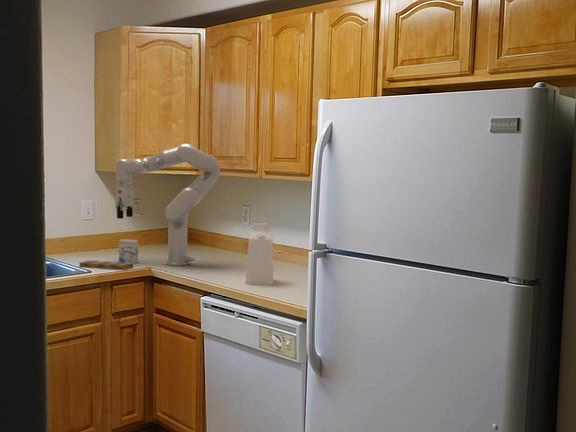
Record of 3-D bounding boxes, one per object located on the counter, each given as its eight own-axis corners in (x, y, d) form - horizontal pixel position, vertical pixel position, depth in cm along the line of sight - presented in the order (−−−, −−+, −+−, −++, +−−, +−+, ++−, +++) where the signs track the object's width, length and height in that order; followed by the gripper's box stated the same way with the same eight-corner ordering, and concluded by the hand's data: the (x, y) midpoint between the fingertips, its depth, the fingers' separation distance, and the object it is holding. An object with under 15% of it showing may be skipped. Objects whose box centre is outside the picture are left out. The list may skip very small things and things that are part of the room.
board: (133, 267, 294) (133, 263, 294) (125, 270, 286) (125, 265, 286) (88, 264, 299) (88, 260, 299) (79, 266, 291) (79, 262, 291)
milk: (272, 279, 274) (274, 222, 271) (273, 284, 262) (274, 225, 260) (246, 278, 273) (247, 221, 271) (245, 284, 262) (246, 224, 260)
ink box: (118, 262, 305) (118, 239, 304) (123, 261, 310) (123, 238, 309) (133, 264, 303) (133, 240, 302) (138, 262, 308) (138, 239, 307)
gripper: (122, 184, 295) (123, 219, 297) (139, 183, 312) (139, 216, 313) (108, 184, 297) (109, 218, 298) (125, 183, 314) (126, 215, 315)
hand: (125, 217), depth 306 cm, fingers open, 9 cm apart
